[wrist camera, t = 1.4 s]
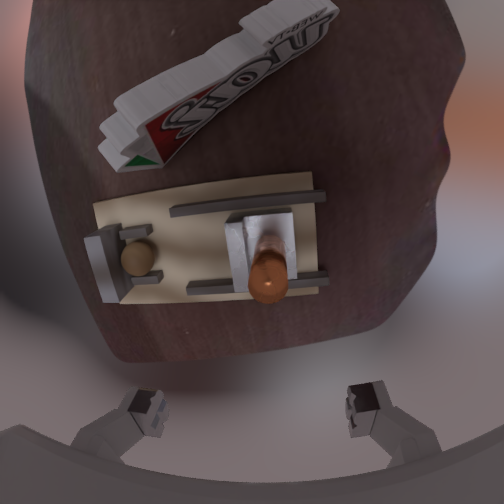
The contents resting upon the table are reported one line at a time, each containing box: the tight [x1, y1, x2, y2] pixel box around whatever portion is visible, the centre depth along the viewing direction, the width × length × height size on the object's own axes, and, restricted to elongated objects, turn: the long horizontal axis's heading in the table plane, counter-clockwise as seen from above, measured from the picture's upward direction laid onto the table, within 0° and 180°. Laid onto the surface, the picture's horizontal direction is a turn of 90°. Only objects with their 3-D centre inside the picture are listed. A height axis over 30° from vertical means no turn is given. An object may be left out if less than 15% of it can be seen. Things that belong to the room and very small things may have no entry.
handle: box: [224, 207, 297, 304], centre depth 26 cm, size 7×6×10 cm
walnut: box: [121, 241, 155, 276], centre depth 31 cm, size 4×4×4 cm
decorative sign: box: [98, 0, 340, 173], centre depth 21 cm, size 23×3×15 cm, turn 130°
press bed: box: [84, 171, 329, 304], centre depth 30 cm, size 14×27×6 cm, turn 97°
